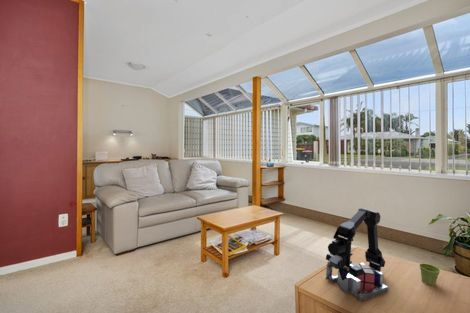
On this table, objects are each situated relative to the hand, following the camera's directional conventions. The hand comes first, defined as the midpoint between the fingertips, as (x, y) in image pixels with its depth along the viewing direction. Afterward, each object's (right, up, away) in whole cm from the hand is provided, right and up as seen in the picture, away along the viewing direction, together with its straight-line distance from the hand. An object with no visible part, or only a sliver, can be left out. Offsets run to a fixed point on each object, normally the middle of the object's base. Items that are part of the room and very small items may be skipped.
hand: (342, 279), depth 122 cm
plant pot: (+53, -8, +11) cm, 55 cm away
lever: (+2, +2, +13) cm, 14 cm away
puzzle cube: (+12, -7, +6) cm, 15 cm away
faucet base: (+10, -6, +7) cm, 14 cm away
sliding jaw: (+3, -6, +2) cm, 7 cm away
